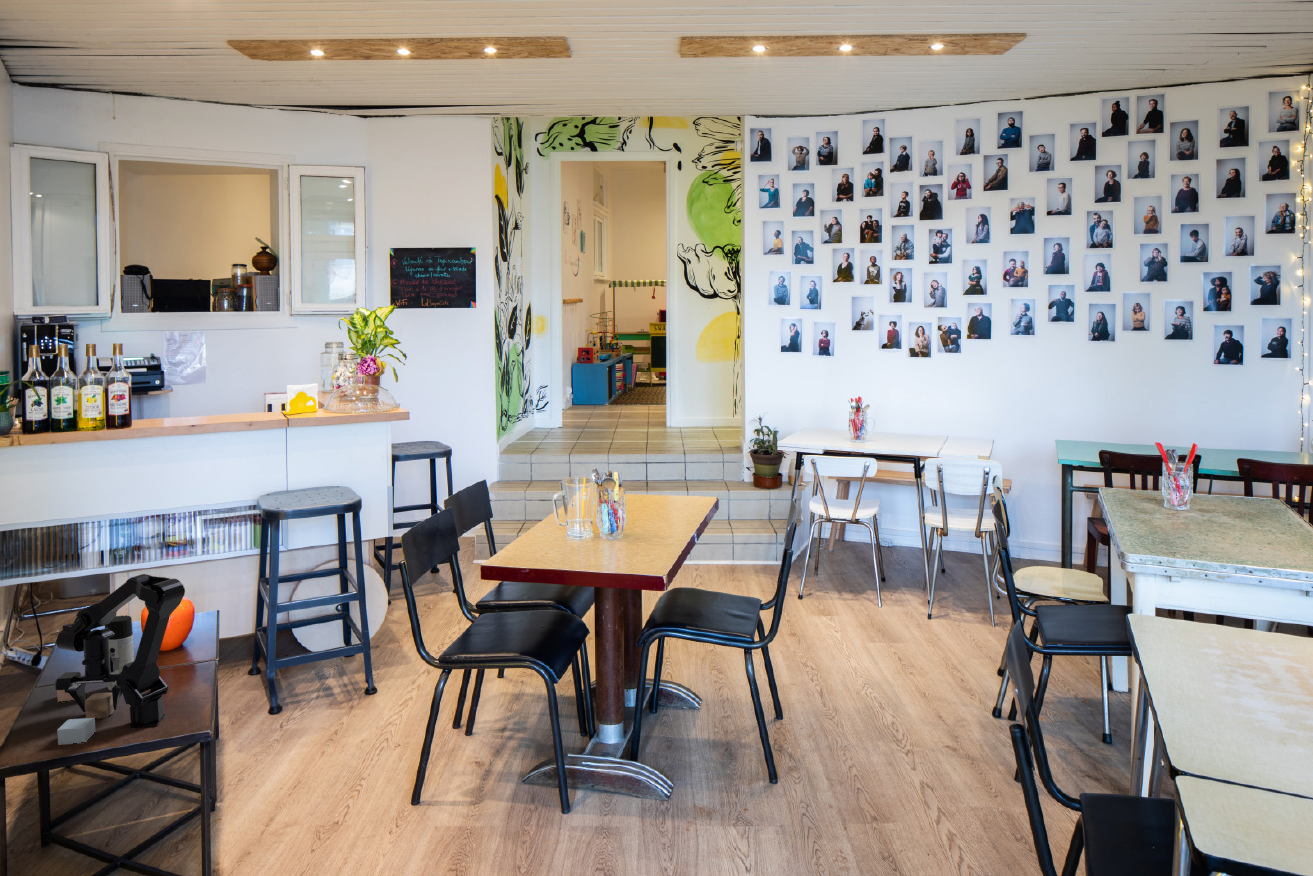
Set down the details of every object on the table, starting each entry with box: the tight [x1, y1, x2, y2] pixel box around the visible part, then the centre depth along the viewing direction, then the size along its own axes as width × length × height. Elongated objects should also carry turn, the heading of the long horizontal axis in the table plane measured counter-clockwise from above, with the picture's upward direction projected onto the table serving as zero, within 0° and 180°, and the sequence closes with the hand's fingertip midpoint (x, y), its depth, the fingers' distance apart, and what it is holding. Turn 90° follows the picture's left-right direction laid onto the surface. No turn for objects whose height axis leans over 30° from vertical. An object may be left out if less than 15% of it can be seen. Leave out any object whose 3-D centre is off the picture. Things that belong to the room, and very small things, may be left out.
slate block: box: [56, 717, 97, 746], centre depth 223 cm, size 6×6×4 cm
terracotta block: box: [56, 690, 75, 703], centre depth 248 cm, size 5×5×4 cm
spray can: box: [104, 614, 135, 692], centre depth 255 cm, size 7×7×20 cm
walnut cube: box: [85, 691, 115, 719], centre depth 237 cm, size 5×5×5 cm
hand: (100, 710), depth 238 cm, fingers open, 7 cm apart
